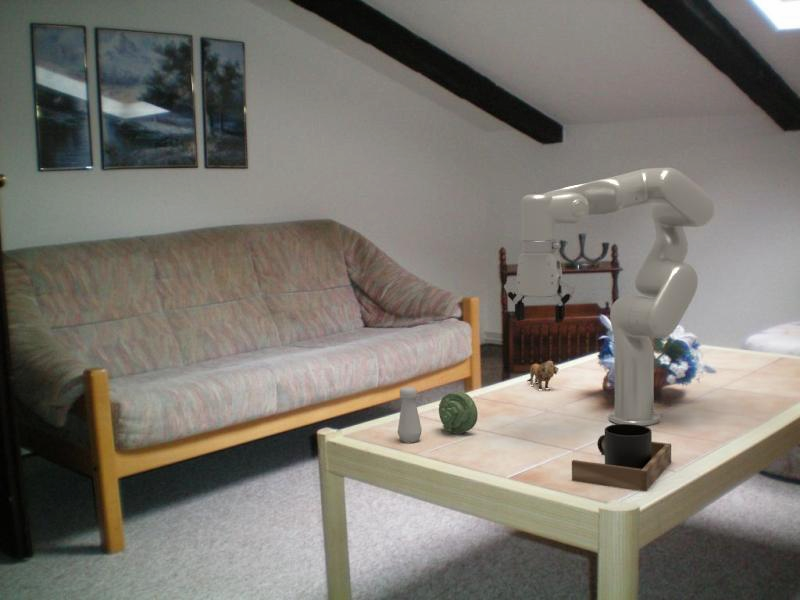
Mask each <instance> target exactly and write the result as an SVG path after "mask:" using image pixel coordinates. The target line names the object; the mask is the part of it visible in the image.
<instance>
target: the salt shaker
mask: <svg viewBox="0 0 800 600" xmlns="http://www.w3.org/2000/svg"><path fill="white" fill-rule="evenodd" d="M399 397H400V398H401V407H400V412H399V413H400V414H399V420H398V426H397V434H398V437H399V439H400V440H401V442H402V441H403V443H406V444H412V443H413V442H414V443H417V442H419V441H420V438H421V435H422V433H423V431H422V425H421V421H420V415H419V412H418V411H419V410H418V407H417V401H416V398H417V397H418V388H417V387H414V386H405V387H401V388H400V390H399ZM416 441H417V442H416ZM414 443H413V444H414Z"/></svg>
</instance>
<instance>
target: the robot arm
mask: <svg viewBox="0 0 800 600" xmlns="http://www.w3.org/2000/svg"><path fill="white" fill-rule="evenodd" d="M647 204H651V207H650V208H651V213H650V214H651V218H652V220H653V225H654V230H655V239H654V242H653V244H652V247H651V249H650V250H649V252H648V254H647V255H646V257H645V259H644V261H643V262H642V265H641V266H640V268H639V270H638V271H637V274H636V277H635V280H634V286H635V289H636V290H637V292H638V293H639V294H641V295H632V294H631V295H624V296H621V297H619V298H618V299H616V300H615V301H614V302H613V303H612V306H611V308H610V311H609V314H610V315H609V316H610V319H609V321H610V324H611V325H610V326H611V330H612V334H613V346H614V349H613V350H614V361H613V362H614V410H613V411H611V412H609V413H608V420H609V421H610V422H612V423H614V424H635V425H641V426H651V425H656V424H657V423H659V422H660V421H661V415H660V414H658V413H657V412H655V411H654V410H655V409H654V401H655V399H654V396H655V395H654V390H655V389H654V388H655V387H654V384H655V383H654V378H655V377H654V371H655V370H654V367H655V365H654V364H655V363H654V362H655V358H654V357H655V356H654V355H655V354H654V352H655V351H654V346H653V343H652V340H651V338H653V339H663V338H664V339H665V338H667V337H669V336H670V335H671V334H673V333H674V332H675V330H676V329H677V327H678V326H679V324H680V322H681V320H682V318H683V317H684V315H685V313H686V311H687V310H688V308H689V306H690V304H691V303H692V301H693V299H694V297H695V295H696V293H697V289H698V281H699V280H698V274H697V271H696V270H695V268H694V267H693V266H692V265H691V264H689V263H687V262H684V261H685V259H686V257H687V255H688V250H689V243H688V239H687V236H686V233H685V230H684V228H686V227H688V228H689V227H690V228H696V227H697V228H699V227H704V226H705V225H707V224H708V223H709V222H711V220H712V219H713V217H714V214H715V205H714V202H713V199H712V198H711V196H710V195H709V194H708V193H707V192H706V191H705V190H704V189H703V188H701V187H700V186H699V185H698V184H696V183H695V182H694V181H693V180H692V179H690V178H689V177H688V176H687V175H686V174H684V173H683V172H681V171H680V170H677V169H676V168H674V167H651V168H648V167H647V168H642V169H638V170H634V171H630V172H627V173H623V174H619V175H615V176H611V177H606V178H603V179H597V180H594V181H588V182H586V183H581V184H580V183H579V184H575V185H571V186H567V187H562V188H561V187H560V188H558V189H554V190H550V191H546V192H544V193H540V194H539V193H537V194H535V193H533V194H527V195H524V196H523V197H522V199H521V246H522V247H521V250H522V252H521V253H520V254H519V256H518V257H519V258H518V261H517V262H518V263H517V269H516V278H514V279H513V280H511V281H509V282H506V283H505V284H503V288H504V290H505V292H506V294H507V297H508V298H509V299H510V300H511V301H512V304H514V317H516V321H518V322H519V321H520V322H521V321H522V320H525V303H524V302H523V301H524V299H526V297H527V298H530V297H531V298H552V299H553V301H554V302H555V303H556V305H555V307H554V308H555V309H554V310H555V311H554V312H555V313H554V314H555V318H554V320H555V323H557V324H560V323H562V322H563V321H564V319H565V317H566V315H565V314H566V313H565V312H566V311H565V309H566V308H565V307H566V306H565V305H567V303H568V302H569V301H570V300H571V299H572V297H573V295H574V293H575V291H576V289H577V286H576V285H574V284H572V283H570V282H569V281H567V280H565V279H563V270H562V264H561V263H562V262H561V258H560V254H559V252H557V253H556V250H560V249H561V248H562V245H561V242H557V240H556V225H565V226H566V225H567V226H570V225H571V226H572V225H573V226H574V225H577V224H579V223H581V222H583V221H584V220H585V219H586V218H587V216H588V215H589V216H590V215H592V216H593V215H608V214H615V213H619V212H622V211H625V210H628V209H632V208H634V207H635V208H636V207H640V206H643V205H647ZM514 286H515V287H516V292H517V293H516V292H515V291H514V289H513V287H514ZM564 288H565V289H566V293H565V295H564V296H563V292H564ZM642 295H643V296H642Z"/></svg>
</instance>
